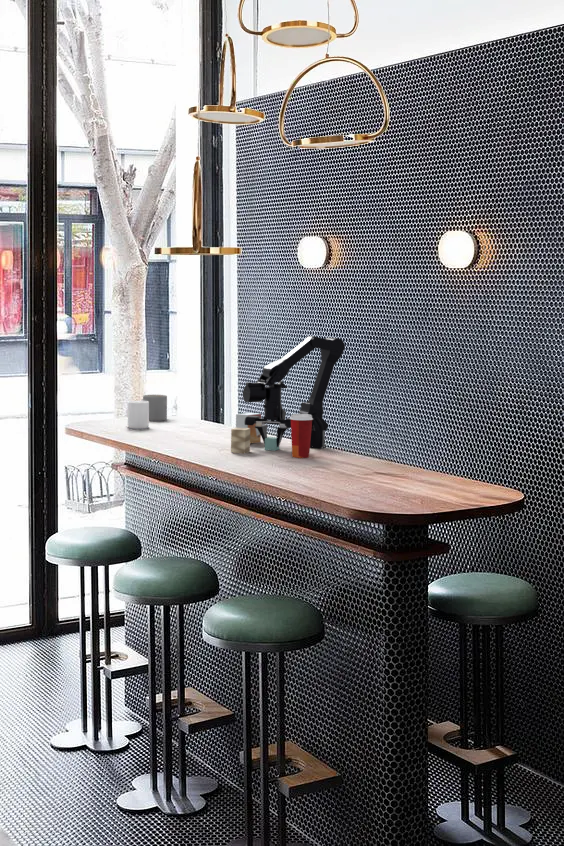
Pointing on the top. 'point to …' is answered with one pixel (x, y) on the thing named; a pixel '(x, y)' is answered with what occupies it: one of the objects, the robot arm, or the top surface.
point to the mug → (138, 414)
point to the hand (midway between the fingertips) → (272, 446)
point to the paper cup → (301, 434)
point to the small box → (249, 426)
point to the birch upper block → (240, 434)
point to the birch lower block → (240, 447)
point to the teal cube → (271, 443)
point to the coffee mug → (156, 407)
